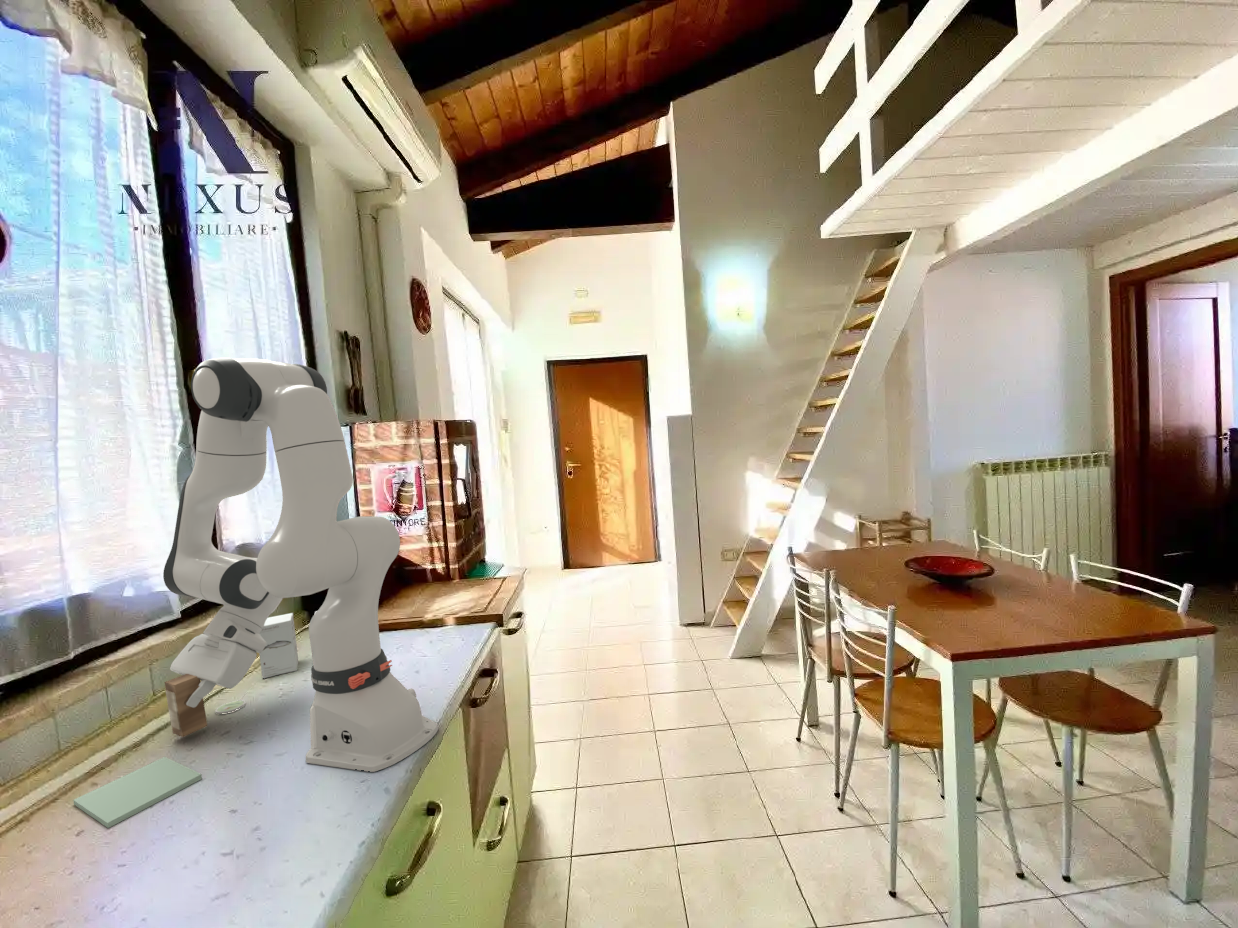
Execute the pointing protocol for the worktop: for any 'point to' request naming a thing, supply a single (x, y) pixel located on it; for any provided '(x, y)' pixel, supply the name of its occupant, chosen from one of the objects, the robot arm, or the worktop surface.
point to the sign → (230, 706)
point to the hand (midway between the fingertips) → (181, 704)
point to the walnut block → (181, 714)
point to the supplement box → (279, 646)
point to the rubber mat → (136, 791)
